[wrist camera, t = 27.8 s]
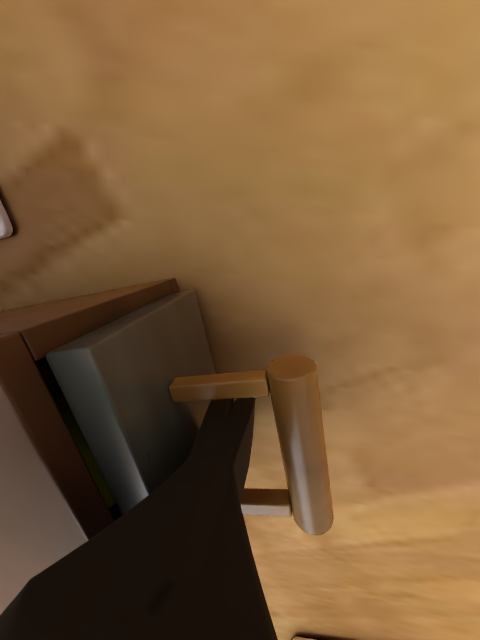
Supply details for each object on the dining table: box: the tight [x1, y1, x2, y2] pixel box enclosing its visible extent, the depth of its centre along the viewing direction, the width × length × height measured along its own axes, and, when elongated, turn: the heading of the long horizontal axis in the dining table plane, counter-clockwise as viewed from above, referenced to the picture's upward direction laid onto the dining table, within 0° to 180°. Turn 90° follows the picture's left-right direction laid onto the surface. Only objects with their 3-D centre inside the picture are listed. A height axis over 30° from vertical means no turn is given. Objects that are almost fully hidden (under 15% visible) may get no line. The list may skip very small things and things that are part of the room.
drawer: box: [34, 290, 333, 535], centre depth 10 cm, size 17×10×6 cm, turn 102°
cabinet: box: [0, 278, 179, 615], centre depth 11 cm, size 13×11×8 cm
